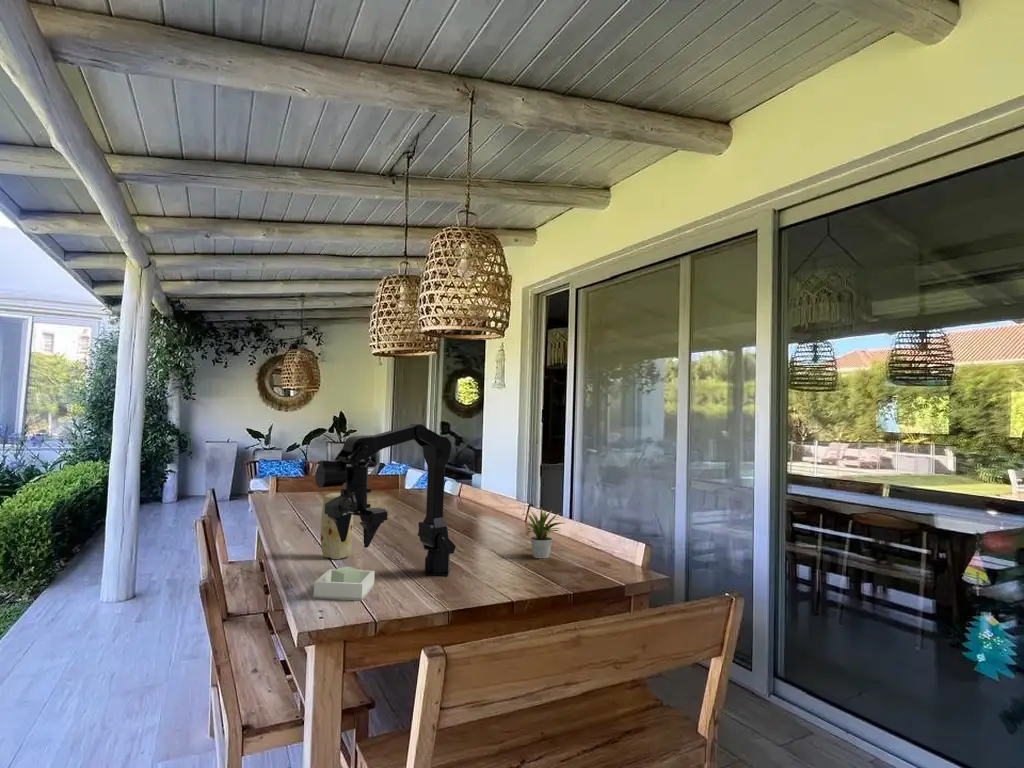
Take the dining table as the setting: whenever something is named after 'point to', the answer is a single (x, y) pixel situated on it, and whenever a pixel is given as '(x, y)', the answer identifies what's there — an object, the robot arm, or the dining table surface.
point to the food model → (334, 534)
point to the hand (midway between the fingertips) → (354, 544)
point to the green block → (346, 575)
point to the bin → (343, 587)
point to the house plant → (541, 534)
